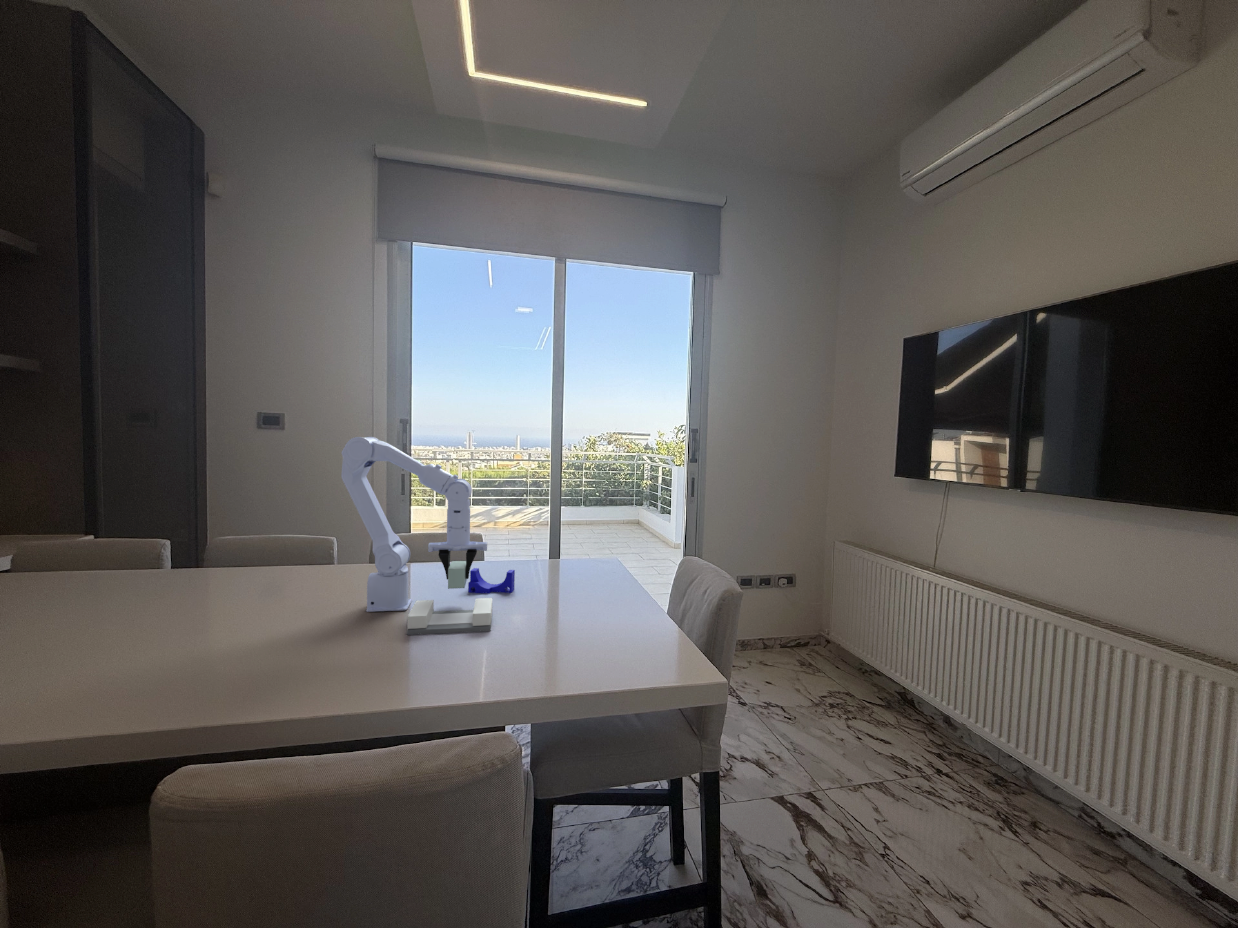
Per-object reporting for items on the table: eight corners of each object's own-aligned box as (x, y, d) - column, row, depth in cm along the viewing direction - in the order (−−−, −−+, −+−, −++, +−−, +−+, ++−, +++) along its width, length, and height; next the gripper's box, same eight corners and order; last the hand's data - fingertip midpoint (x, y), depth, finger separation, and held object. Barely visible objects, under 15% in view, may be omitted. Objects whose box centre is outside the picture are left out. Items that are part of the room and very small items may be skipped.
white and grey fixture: (407, 634, 116) (407, 617, 116) (416, 616, 128) (416, 599, 127) (490, 630, 120) (490, 613, 119) (492, 612, 131) (492, 597, 131)
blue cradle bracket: (468, 593, 147) (468, 572, 147) (473, 588, 152) (473, 568, 151) (510, 595, 147) (510, 574, 146) (514, 590, 151) (514, 569, 151)
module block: (447, 588, 132) (447, 569, 131) (451, 579, 139) (451, 561, 139) (464, 588, 132) (464, 568, 132) (467, 579, 140) (467, 560, 140)
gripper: (426, 529, 130) (425, 583, 130) (486, 529, 133) (485, 581, 133) (430, 524, 137) (430, 575, 137) (487, 524, 139) (487, 574, 140)
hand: (457, 578), depth 136 cm, fingers closed on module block, 4 cm apart
